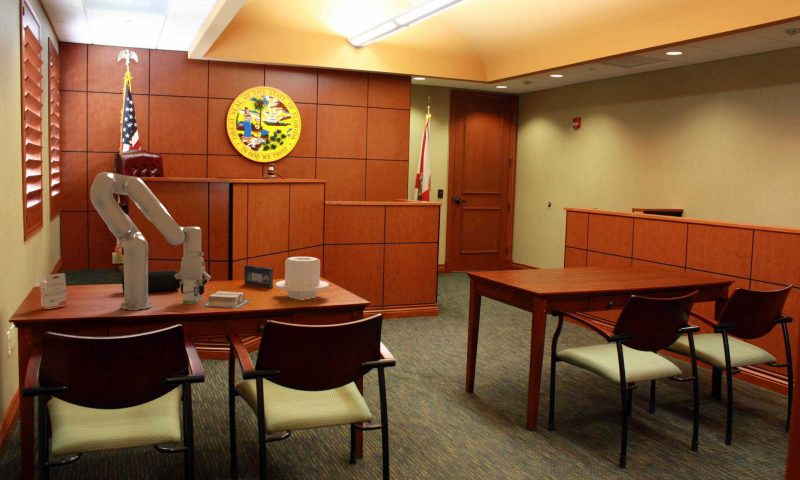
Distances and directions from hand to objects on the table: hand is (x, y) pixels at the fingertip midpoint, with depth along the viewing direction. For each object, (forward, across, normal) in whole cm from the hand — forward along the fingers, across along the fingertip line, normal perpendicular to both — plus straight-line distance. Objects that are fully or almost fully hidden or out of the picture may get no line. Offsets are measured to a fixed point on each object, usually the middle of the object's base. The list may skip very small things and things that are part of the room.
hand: (192, 293), depth 300 cm
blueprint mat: (+5, -15, -2) cm, 16 cm away
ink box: (+5, 0, 0) cm, 5 cm away
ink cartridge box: (+5, +52, +21) cm, 56 cm away
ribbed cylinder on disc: (+5, -43, -27) cm, 51 cm away
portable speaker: (+5, +30, -22) cm, 37 cm away
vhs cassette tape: (+5, -14, -50) cm, 52 cm away
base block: (+4, -15, -2) cm, 16 cm away
